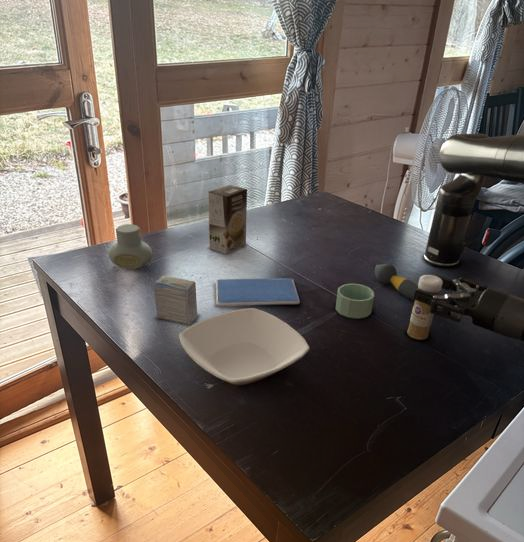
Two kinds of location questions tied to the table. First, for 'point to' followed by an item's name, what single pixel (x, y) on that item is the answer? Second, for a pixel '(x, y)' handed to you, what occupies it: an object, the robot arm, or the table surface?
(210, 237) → the coffee box
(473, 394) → the table surface
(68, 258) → the table surface
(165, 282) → the medicine box
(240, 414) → the table surface
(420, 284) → the sprinkles bottle
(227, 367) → the bowl
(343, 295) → the bracelet
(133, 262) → the air freshener
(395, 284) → the paintbrush
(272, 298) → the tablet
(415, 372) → the table surface
